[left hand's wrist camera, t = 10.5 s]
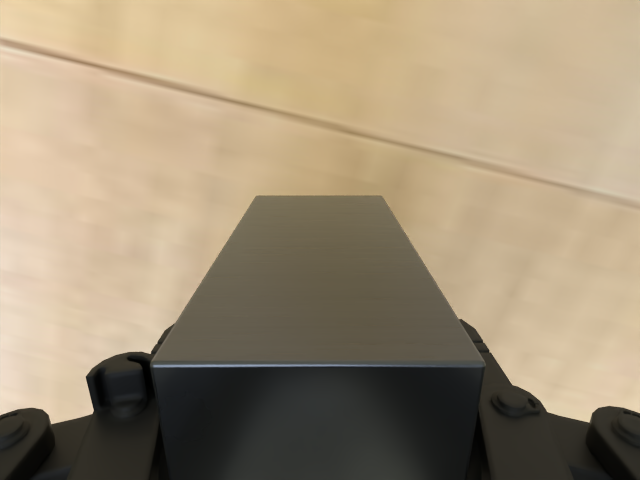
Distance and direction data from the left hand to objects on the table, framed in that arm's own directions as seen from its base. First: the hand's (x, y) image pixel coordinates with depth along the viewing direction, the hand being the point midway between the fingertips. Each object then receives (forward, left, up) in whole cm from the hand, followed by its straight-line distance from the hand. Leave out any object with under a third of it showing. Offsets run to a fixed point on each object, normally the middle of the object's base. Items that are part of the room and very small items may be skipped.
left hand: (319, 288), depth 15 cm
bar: (+8, +11, -1) cm, 14 cm away
